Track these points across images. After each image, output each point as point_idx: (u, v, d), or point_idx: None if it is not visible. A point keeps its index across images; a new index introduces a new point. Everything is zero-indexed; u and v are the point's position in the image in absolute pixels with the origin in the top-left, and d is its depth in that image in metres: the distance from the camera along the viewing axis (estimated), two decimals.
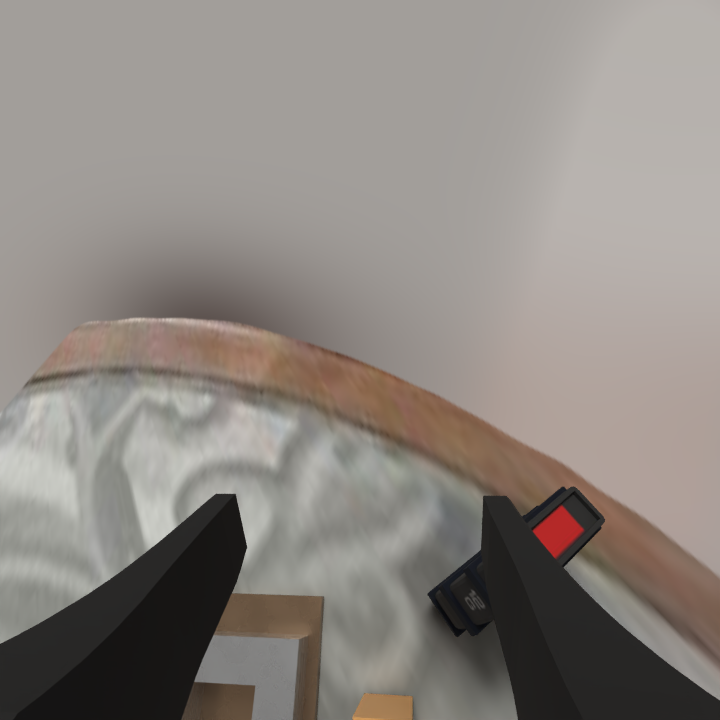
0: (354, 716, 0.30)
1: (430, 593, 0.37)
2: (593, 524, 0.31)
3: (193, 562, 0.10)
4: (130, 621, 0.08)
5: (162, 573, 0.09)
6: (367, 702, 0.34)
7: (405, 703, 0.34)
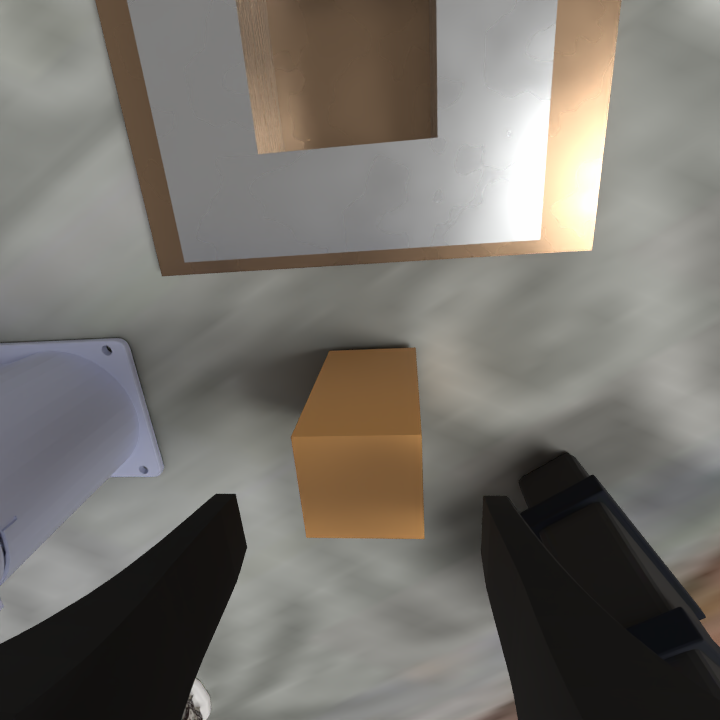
0: (421, 434, 0.13)
1: (603, 494, 0.18)
2: None
3: (193, 562, 0.10)
4: (130, 621, 0.08)
5: (162, 573, 0.09)
6: None
7: None
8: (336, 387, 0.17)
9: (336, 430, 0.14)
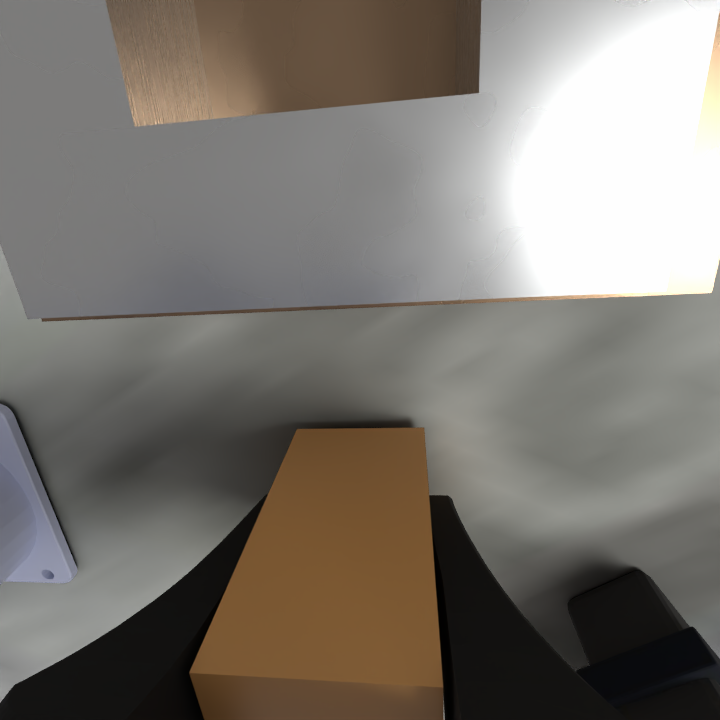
0: (441, 677, 0.07)
1: (716, 668, 0.12)
2: None
3: None
4: (207, 624, 0.08)
5: (230, 575, 0.09)
6: None
7: None
8: (296, 519, 0.10)
9: (279, 656, 0.07)
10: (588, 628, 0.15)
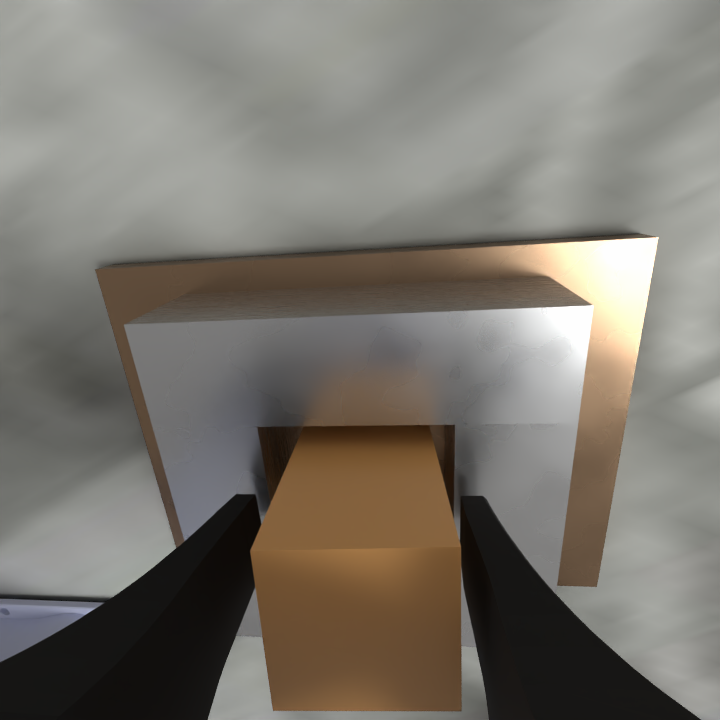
0: None
1: None
2: None
3: (217, 563, 0.10)
4: (160, 622, 0.08)
5: (189, 574, 0.09)
6: None
7: None
8: (321, 463, 0.12)
9: (324, 537, 0.09)
10: None
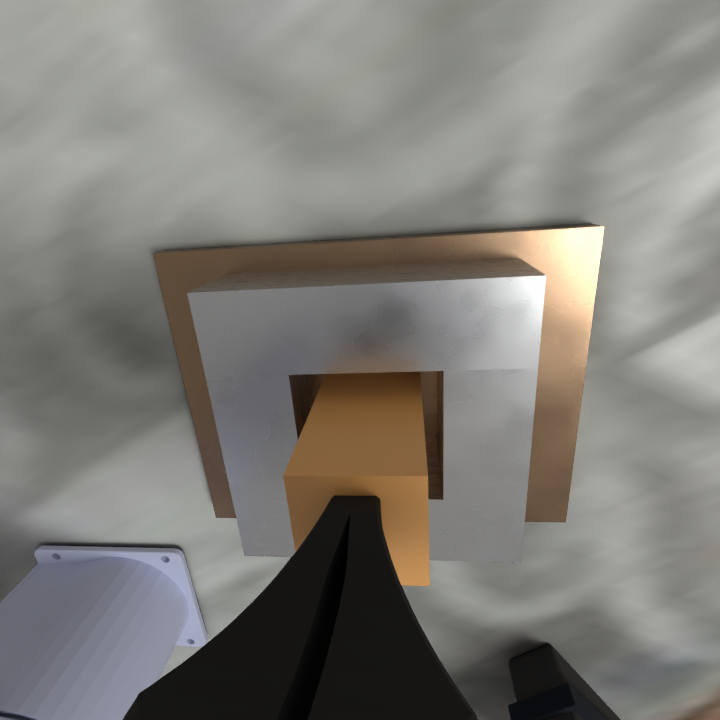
0: None
1: (575, 707, 0.23)
2: None
3: (338, 566, 0.10)
4: (313, 629, 0.08)
5: (323, 578, 0.09)
6: None
7: None
8: (334, 414, 0.15)
9: (334, 468, 0.12)
10: (517, 679, 0.26)
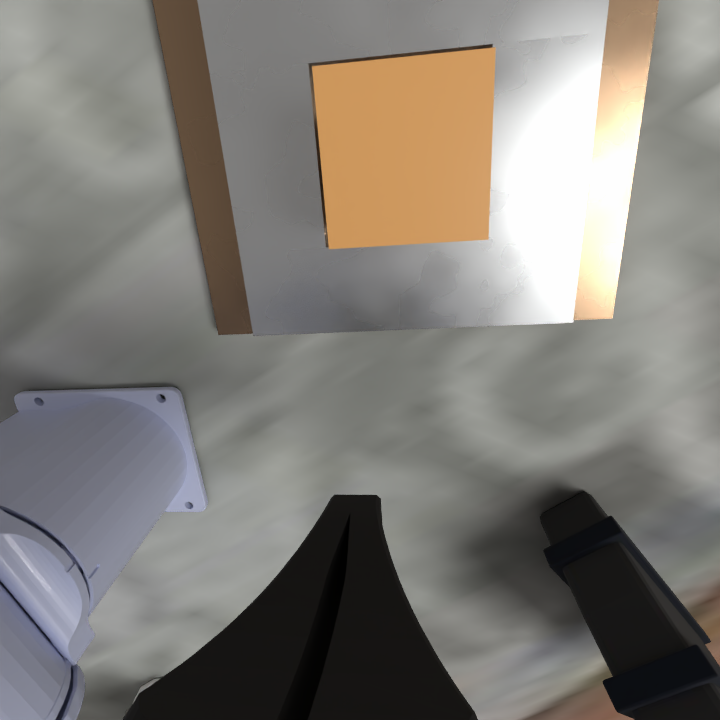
0: None
1: (621, 535, 0.20)
2: None
3: (338, 566, 0.10)
4: (313, 629, 0.08)
5: (323, 578, 0.09)
6: None
7: None
8: None
9: (374, 64, 0.10)
10: (552, 527, 0.23)
